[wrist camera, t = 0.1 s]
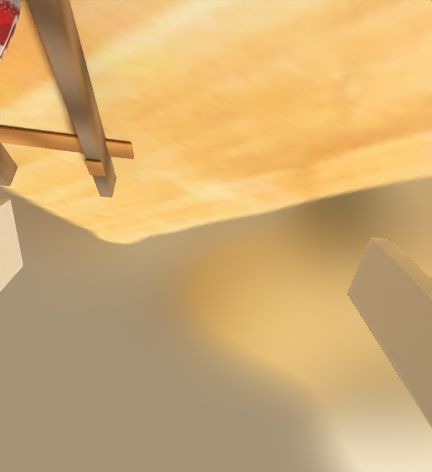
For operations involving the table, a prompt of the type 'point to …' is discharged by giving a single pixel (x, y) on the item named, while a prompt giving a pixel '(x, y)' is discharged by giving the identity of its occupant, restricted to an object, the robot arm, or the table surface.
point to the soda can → (8, 22)
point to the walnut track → (68, 102)
